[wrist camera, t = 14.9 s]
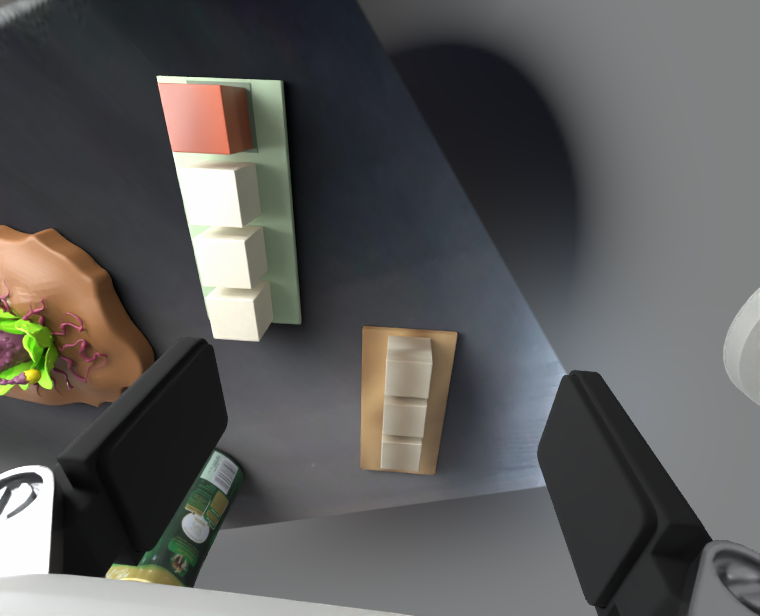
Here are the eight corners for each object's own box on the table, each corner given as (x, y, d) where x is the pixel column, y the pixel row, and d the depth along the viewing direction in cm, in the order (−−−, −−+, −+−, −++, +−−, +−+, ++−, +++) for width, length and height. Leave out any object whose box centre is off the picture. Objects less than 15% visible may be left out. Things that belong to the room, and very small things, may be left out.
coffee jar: (203, 496, 51) (107, 681, 34) (161, 460, 48) (33, 645, 31) (257, 476, 48) (180, 666, 32) (216, 436, 45) (107, 625, 29)
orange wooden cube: (245, 87, 26) (220, 84, 23) (252, 148, 28) (230, 154, 25) (190, 85, 26) (157, 82, 23) (201, 146, 28) (171, 152, 25)
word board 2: (456, 331, 36) (463, 360, 32) (434, 470, 45) (437, 506, 41) (363, 325, 36) (357, 353, 32) (360, 464, 46) (356, 499, 42)
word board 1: (283, 80, 27) (261, 76, 23) (301, 321, 36) (288, 348, 32) (160, 76, 27) (117, 71, 23) (211, 315, 37) (186, 341, 33)
